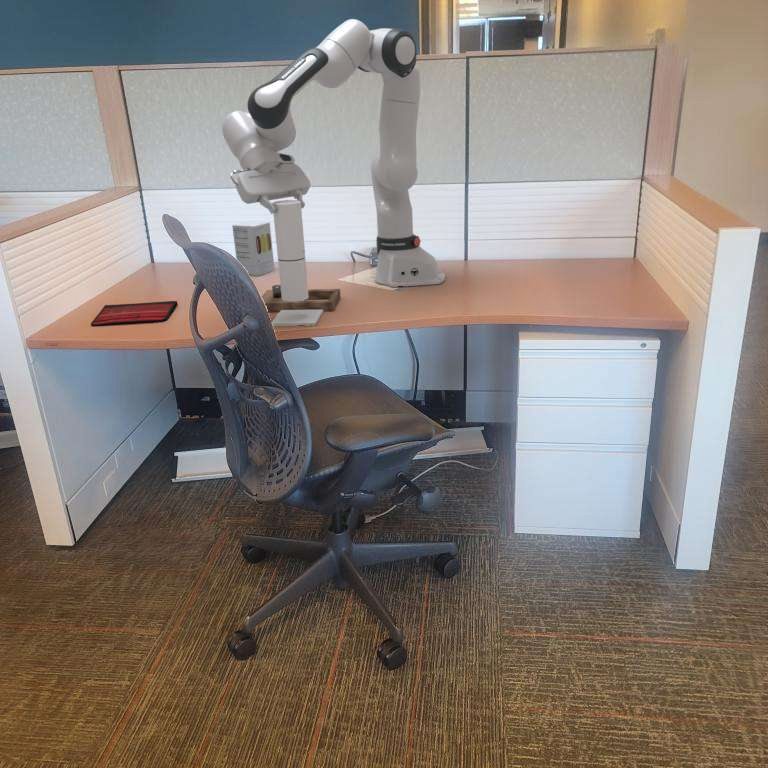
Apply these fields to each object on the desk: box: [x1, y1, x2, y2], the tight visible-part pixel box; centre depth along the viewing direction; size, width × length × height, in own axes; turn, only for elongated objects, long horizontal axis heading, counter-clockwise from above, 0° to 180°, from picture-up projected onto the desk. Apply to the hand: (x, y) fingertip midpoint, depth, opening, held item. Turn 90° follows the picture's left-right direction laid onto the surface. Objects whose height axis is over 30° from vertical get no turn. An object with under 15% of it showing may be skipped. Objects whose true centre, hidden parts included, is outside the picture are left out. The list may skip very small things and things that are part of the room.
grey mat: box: [271, 309, 325, 327], centre depth 182 cm, size 12×12×1 cm
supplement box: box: [231, 220, 276, 277], centre depth 231 cm, size 10×9×17 cm
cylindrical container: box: [271, 199, 309, 302], centre depth 175 cm, size 7×7×25 cm
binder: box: [90, 300, 179, 327], centre depth 192 cm, size 16×2×21 cm
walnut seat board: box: [261, 284, 341, 313], centre depth 195 cm, size 22×14×6 cm, turn 85°
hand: (288, 209), depth 171 cm, fingers closed on cylindrical container, 7 cm apart
